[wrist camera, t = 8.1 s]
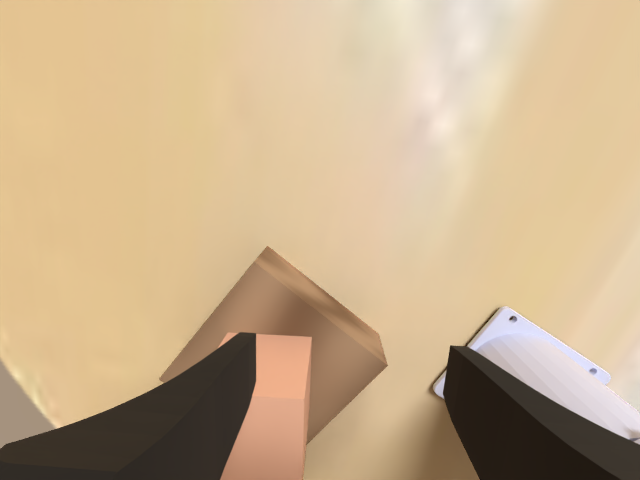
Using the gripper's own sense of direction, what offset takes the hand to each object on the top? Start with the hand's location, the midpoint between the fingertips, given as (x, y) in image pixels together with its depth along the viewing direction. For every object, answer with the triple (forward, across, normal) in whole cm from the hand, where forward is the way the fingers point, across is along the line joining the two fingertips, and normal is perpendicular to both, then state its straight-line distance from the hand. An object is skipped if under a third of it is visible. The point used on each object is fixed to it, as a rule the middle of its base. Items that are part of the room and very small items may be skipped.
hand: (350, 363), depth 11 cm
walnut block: (+10, +4, +5) cm, 12 cm away
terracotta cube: (+6, +4, +5) cm, 9 cm away
